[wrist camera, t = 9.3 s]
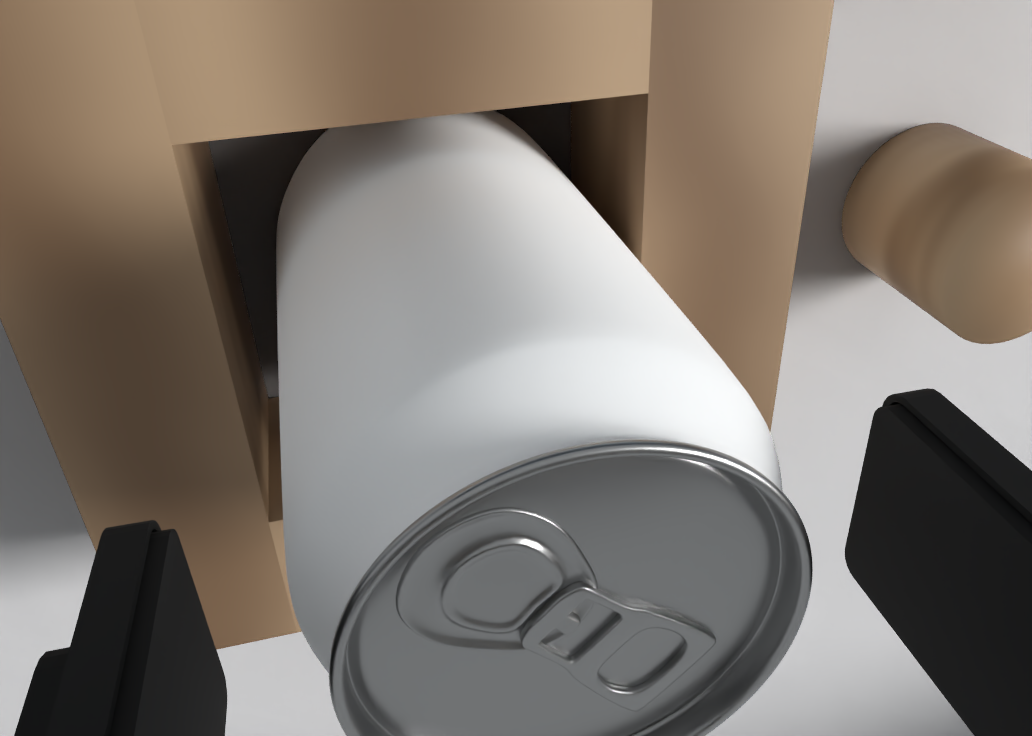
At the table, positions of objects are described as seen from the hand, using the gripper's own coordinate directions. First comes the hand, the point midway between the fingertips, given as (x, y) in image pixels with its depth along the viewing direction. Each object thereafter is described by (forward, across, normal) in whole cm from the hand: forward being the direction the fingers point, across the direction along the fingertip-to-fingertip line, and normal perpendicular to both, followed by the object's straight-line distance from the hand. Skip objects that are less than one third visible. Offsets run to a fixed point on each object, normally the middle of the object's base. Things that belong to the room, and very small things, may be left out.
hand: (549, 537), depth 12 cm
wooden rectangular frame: (+10, +1, 0) cm, 10 cm away
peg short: (+10, -12, 0) cm, 16 cm away
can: (+10, 0, 0) cm, 10 cm away
